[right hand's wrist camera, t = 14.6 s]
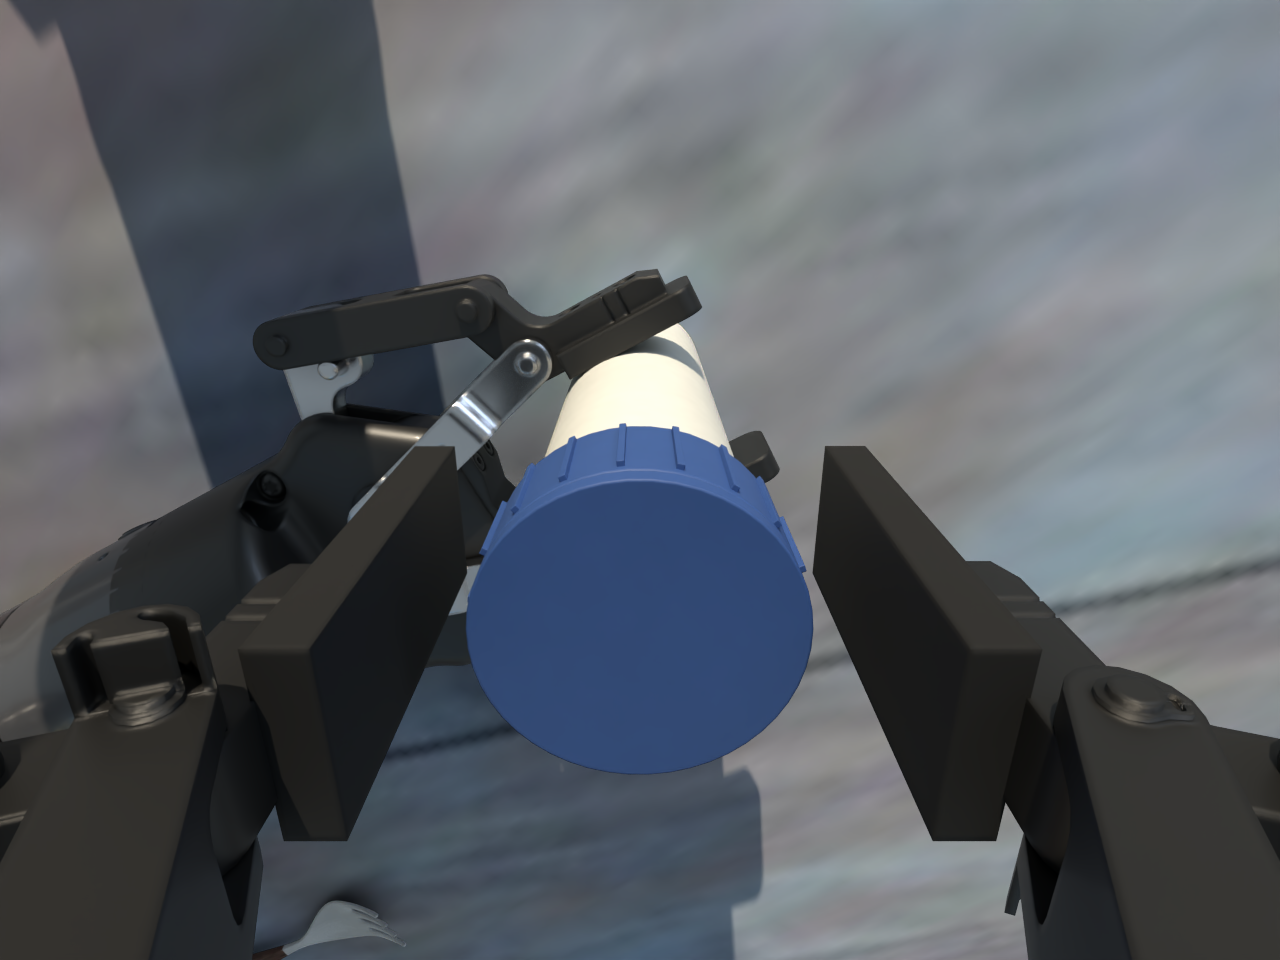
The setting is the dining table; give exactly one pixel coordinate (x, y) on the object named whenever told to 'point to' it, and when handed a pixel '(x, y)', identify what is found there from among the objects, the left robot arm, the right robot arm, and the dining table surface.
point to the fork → (335, 929)
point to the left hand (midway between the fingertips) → (730, 374)
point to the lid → (639, 603)
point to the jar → (643, 393)
